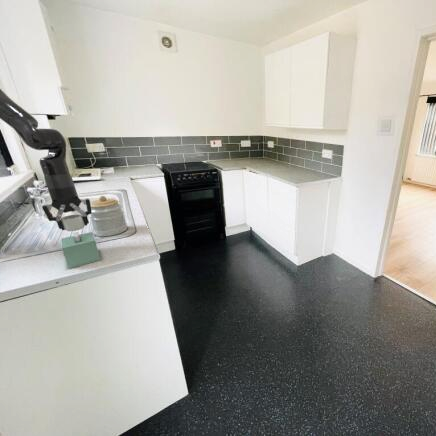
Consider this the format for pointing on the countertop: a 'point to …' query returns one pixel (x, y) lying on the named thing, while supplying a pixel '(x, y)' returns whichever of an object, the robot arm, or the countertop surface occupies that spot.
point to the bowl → (73, 222)
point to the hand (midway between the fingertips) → (75, 227)
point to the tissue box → (80, 249)
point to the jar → (107, 217)
